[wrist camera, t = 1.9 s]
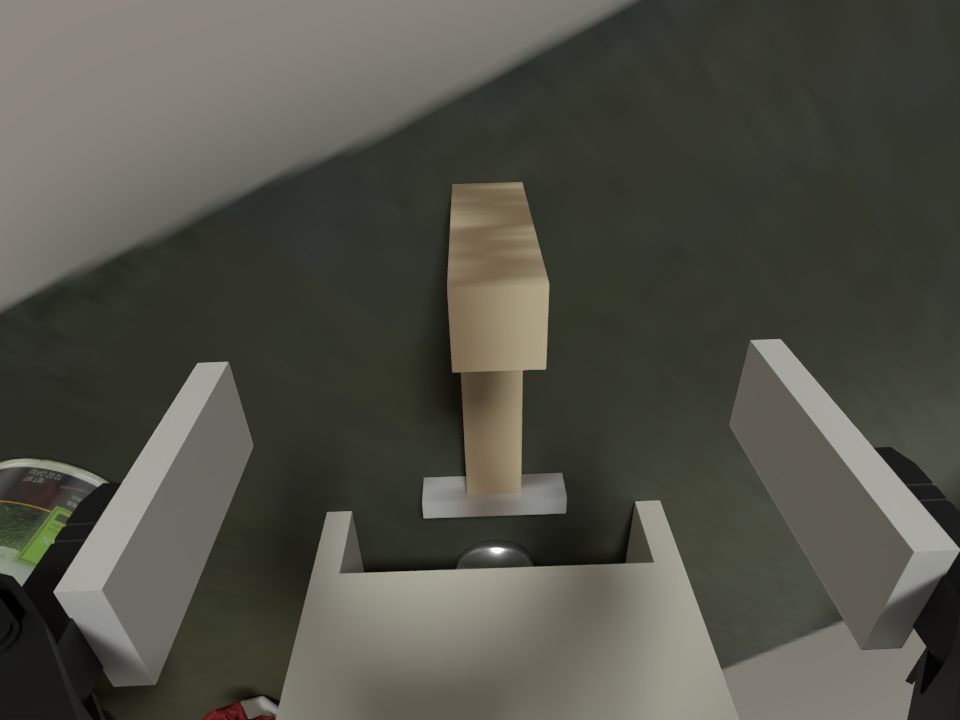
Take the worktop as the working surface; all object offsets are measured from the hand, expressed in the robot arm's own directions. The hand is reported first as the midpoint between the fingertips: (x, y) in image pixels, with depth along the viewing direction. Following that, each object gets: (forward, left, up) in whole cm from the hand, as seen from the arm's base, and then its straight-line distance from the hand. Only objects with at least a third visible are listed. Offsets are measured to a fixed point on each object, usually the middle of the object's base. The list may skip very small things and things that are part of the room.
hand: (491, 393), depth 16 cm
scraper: (0, +8, -13) cm, 15 cm away
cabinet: (0, +23, -13) cm, 27 cm away
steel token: (0, +24, -14) cm, 27 cm away
